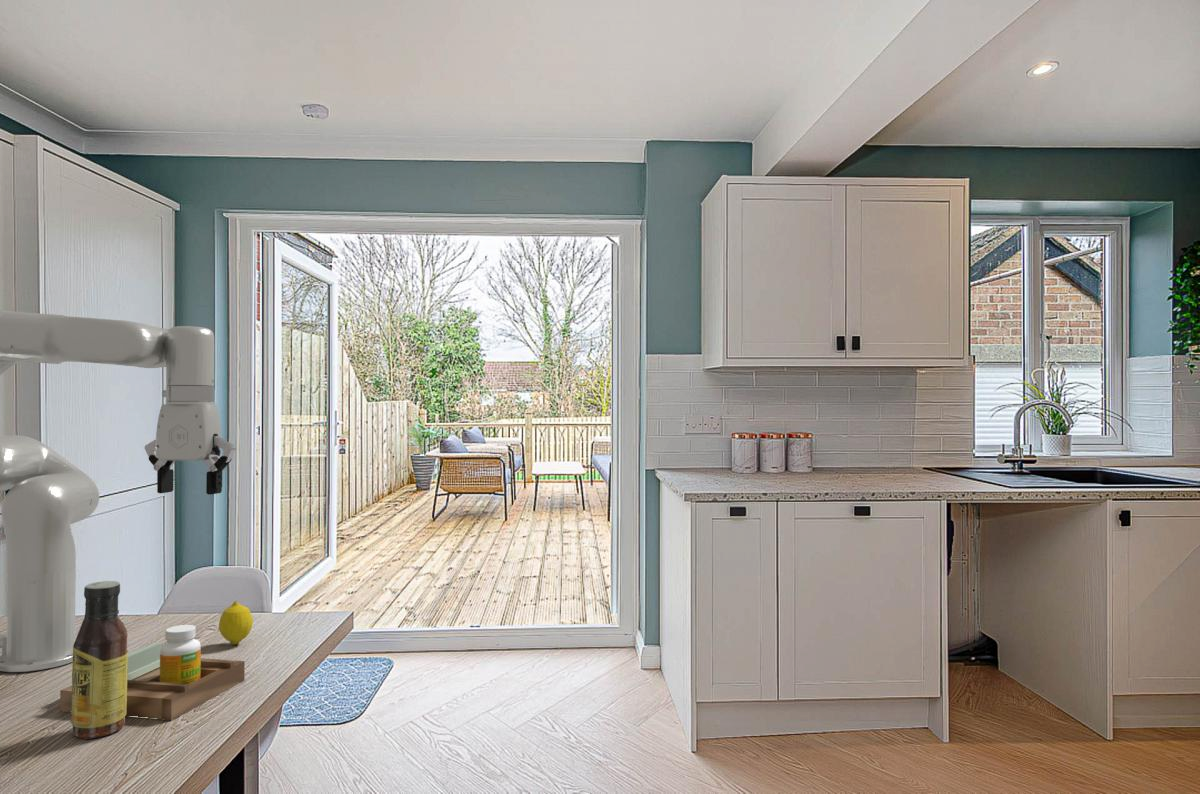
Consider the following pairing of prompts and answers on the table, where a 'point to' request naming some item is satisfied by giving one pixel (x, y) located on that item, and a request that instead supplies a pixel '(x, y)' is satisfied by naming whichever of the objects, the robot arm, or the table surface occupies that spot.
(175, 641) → the supplement bottle
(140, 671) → the lid
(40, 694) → the table surface
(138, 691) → the wooden tray
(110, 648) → the sauce bottle
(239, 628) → the fruit
